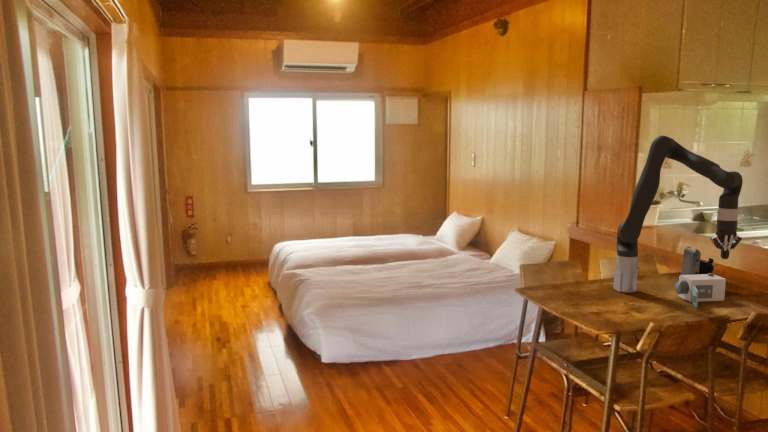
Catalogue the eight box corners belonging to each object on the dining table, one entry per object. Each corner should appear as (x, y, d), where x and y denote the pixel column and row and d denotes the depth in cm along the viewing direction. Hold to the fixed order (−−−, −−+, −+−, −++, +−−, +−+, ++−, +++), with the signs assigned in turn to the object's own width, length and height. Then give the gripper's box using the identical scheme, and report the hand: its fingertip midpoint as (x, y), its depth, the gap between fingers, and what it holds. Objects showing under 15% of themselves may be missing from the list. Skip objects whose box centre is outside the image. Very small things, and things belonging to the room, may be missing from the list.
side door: (688, 300, 249) (689, 284, 248) (694, 300, 248) (695, 285, 247) (692, 307, 239) (693, 291, 238) (697, 308, 238) (699, 291, 237)
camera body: (683, 302, 248) (685, 278, 247) (671, 296, 258) (672, 273, 256) (724, 300, 250) (726, 276, 248) (710, 294, 259) (712, 271, 257)
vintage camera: (722, 291, 266) (726, 250, 263) (689, 290, 266) (693, 249, 264) (710, 286, 276) (715, 246, 273) (679, 285, 276) (683, 246, 273)
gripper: (736, 217, 240) (733, 256, 242) (706, 217, 239) (704, 257, 242) (748, 219, 232) (745, 260, 235) (718, 220, 232) (715, 261, 234)
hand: (724, 258), depth 238 cm, fingers closed
